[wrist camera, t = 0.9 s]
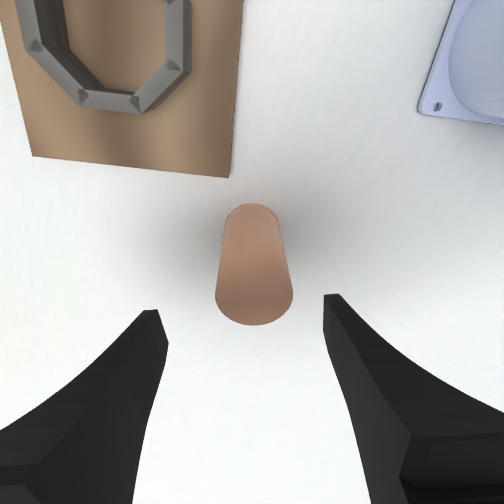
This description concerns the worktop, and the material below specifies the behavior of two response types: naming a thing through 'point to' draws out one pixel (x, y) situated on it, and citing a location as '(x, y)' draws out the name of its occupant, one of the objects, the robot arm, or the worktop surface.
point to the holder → (127, 80)
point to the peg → (253, 268)
